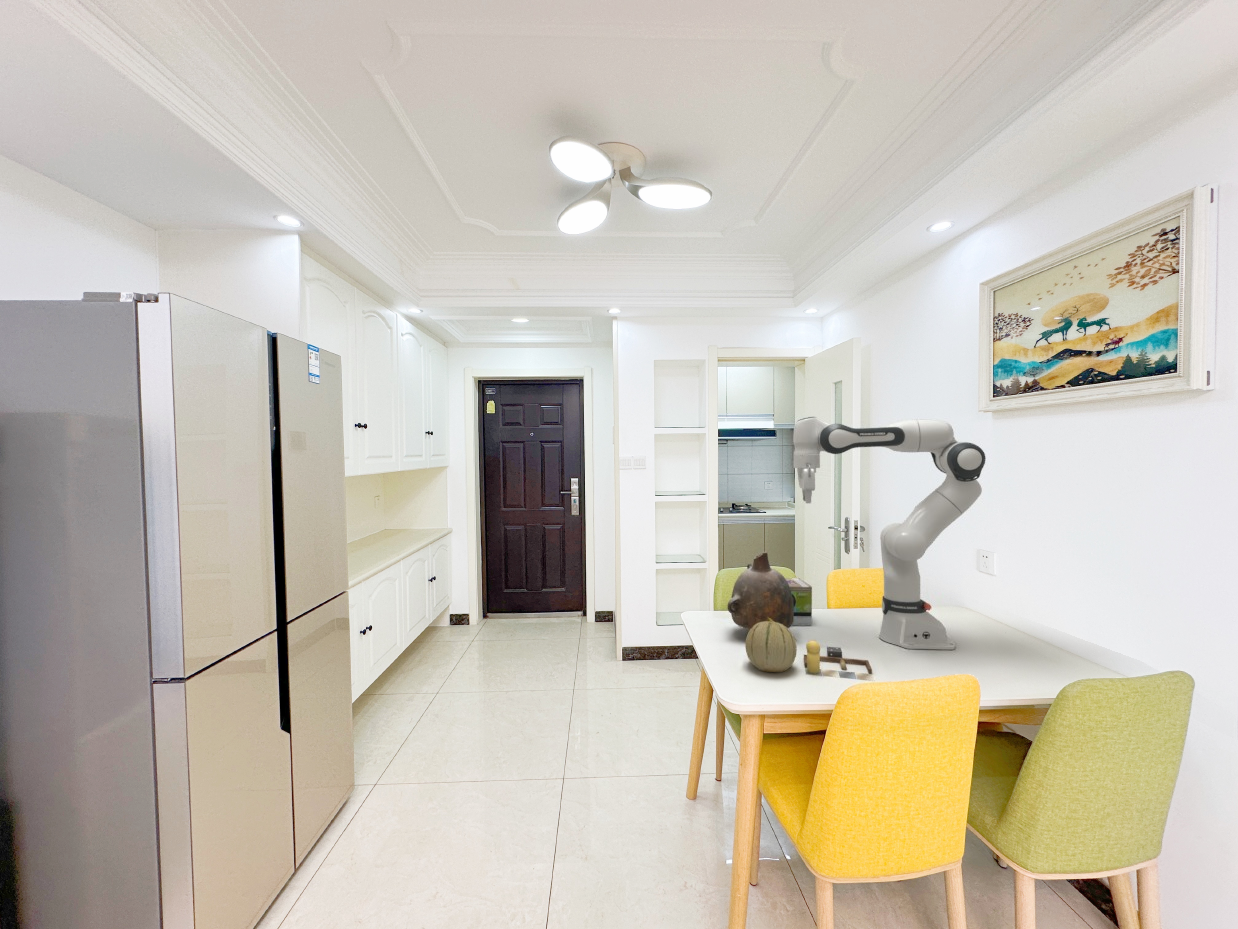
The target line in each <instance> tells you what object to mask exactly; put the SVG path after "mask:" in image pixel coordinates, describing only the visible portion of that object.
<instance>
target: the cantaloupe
mask: <svg viewBox="0 0 1238 929" xmlns="http://www.w3.org/2000/svg"><path fill="white" fill-rule="evenodd" d="M767 620H769V621H764V622H759V623H757V624H756V625H754V626H753V627H752V628H751V629H750V630H748V633H747V635H746V639H745V652H746V656H747V658H748V660H749V661H750V662H751V664H752V665H753V666H754V667H755V668H756V669H758V670H760V671H761V672H765V673H766V672H767V673H782V672H785V671H787V670H788V669H790V668H791V667H792V665H793V664H794V662H795V660H796V657H797V650H798V649H797V648H798V646H797V641H796V639H795V636H794V635H793V633H792V631H791V630H790V629H789V628H787V627H786V626H784V625H783V624H780V623H777V622H774V621H773V620H772V619H770V618H767Z"/></svg>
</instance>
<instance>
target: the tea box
mask: <svg viewBox="0 0 1238 929" xmlns="http://www.w3.org/2000/svg"><path fill="white" fill-rule="evenodd" d="M784 578H785V579H786V581H787V582H788V585H789V587H790V590H791V593H792V594H793V595H794V596H795V599H796V605H795V607H794V618H793V624H792V626H812V622H813V620H812V619H813V617H812V614H813V610H812V609H813V607H812V606H813V586H811V585H810V584H808V583H807V582H805V581H804V580H802V579H801V578H795V577H794V578H793V577H787V578H786V577H784Z"/></svg>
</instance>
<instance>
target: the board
mask: <svg viewBox="0 0 1238 929" xmlns="http://www.w3.org/2000/svg"><path fill="white" fill-rule="evenodd" d="M820 662H822V663H823V662H824V663H834V664H840V668H841V670H832V669H824V668H820V673H819V674H812V673H809V672H807V654H803V663H804V664H803V665H804V671H805V675H810V676H819V677H821V676H822V677H832V678H841V679H850V680H851V679H852V680H861V681H868V682H869V681H871V682H875V678H874V676H873V669H872V667H871V665H870V662H869V660H868V659H860V658H858V659H857V658H847V657H842V658H837V657H827V655H825V656H823V655H820ZM847 665H855V666H865V668H866V670H867V672H868V673H866V672H865V673H864V672H855V671H854V672H853V671H846V670H848V668H847Z"/></svg>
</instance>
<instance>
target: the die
mask: <svg viewBox="0 0 1238 929" xmlns="http://www.w3.org/2000/svg"><path fill="white" fill-rule="evenodd" d="M826 657H837V658H843V651H842V648H841V647H838V646H826Z"/></svg>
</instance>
